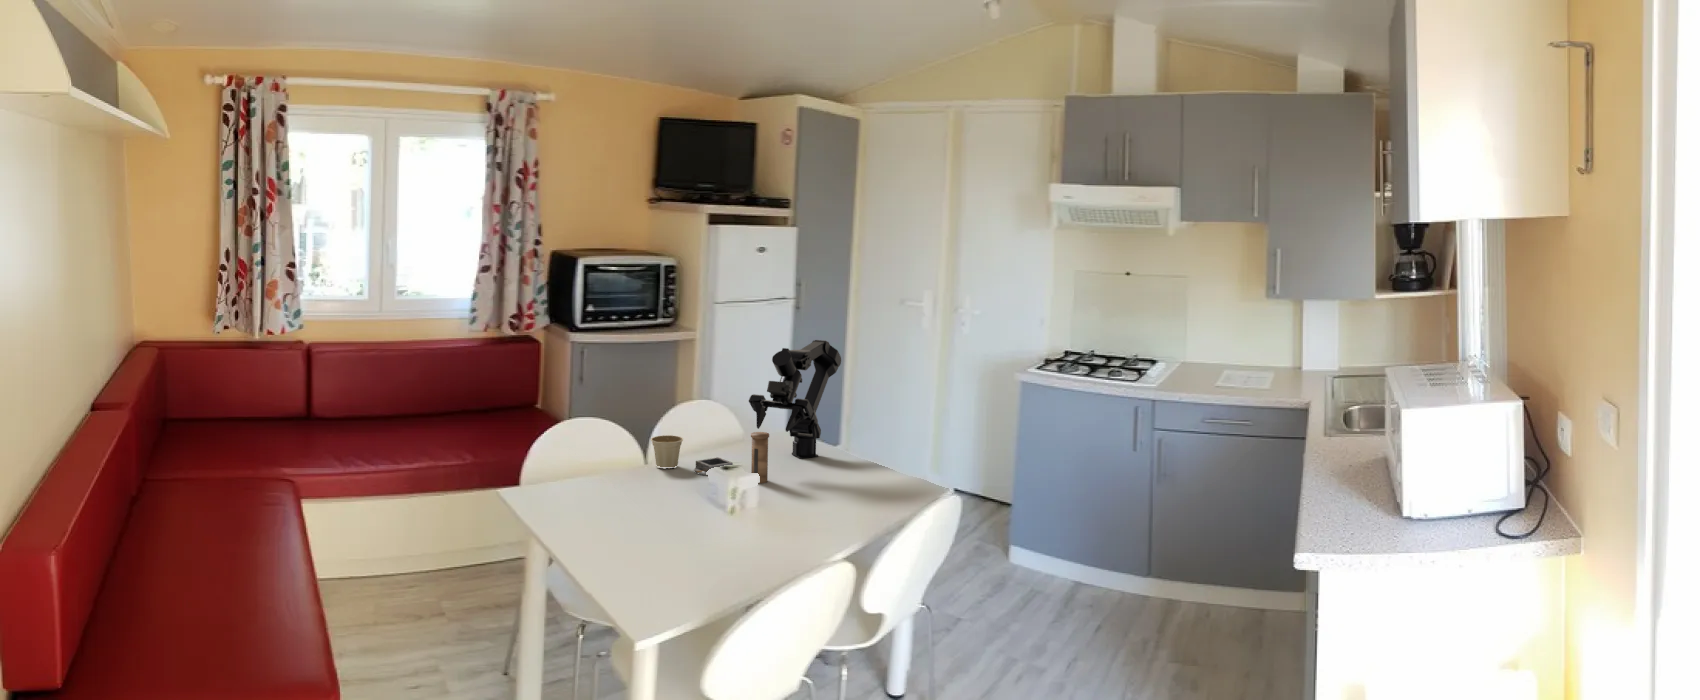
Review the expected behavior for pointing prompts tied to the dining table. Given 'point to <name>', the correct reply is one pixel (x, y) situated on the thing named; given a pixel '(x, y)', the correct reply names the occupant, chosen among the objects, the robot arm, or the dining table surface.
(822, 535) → the dining table surface
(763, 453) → the brown tapered domed piece
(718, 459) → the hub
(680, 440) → the flower pot
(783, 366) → the robot arm
